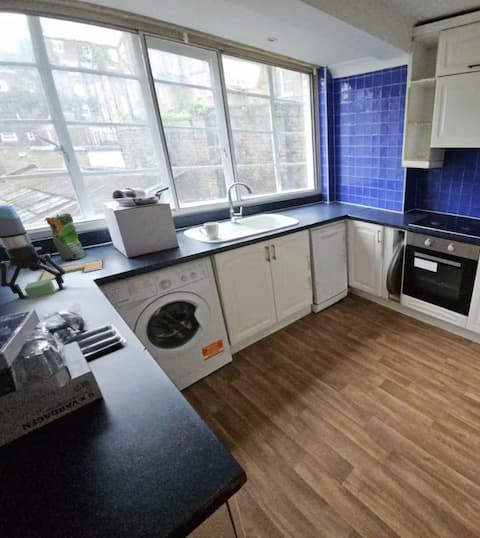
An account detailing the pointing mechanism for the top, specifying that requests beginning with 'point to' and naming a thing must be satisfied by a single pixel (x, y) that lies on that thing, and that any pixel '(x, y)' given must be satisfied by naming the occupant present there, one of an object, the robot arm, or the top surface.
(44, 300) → the top surface
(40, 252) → the coffee mug
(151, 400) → the top surface
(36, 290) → the green block
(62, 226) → the pouch
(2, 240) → the robot arm
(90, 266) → the beige flat board
